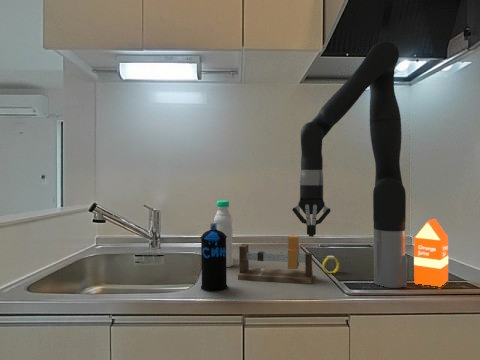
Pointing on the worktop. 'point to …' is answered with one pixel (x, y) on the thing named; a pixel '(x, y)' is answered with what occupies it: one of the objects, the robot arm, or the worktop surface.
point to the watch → (325, 262)
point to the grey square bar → (271, 256)
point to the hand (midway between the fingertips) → (311, 236)
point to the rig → (274, 271)
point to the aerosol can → (213, 259)
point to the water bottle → (225, 228)
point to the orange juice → (431, 255)
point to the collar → (293, 252)
